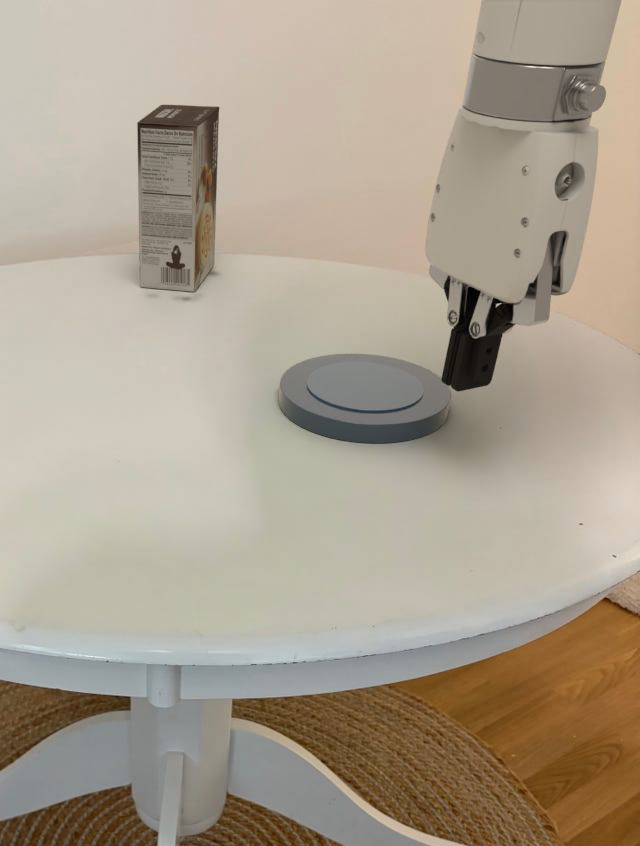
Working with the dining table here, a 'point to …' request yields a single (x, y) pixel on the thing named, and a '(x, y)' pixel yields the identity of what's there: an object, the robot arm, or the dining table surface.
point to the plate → (364, 398)
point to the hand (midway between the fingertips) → (465, 383)
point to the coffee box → (177, 195)
